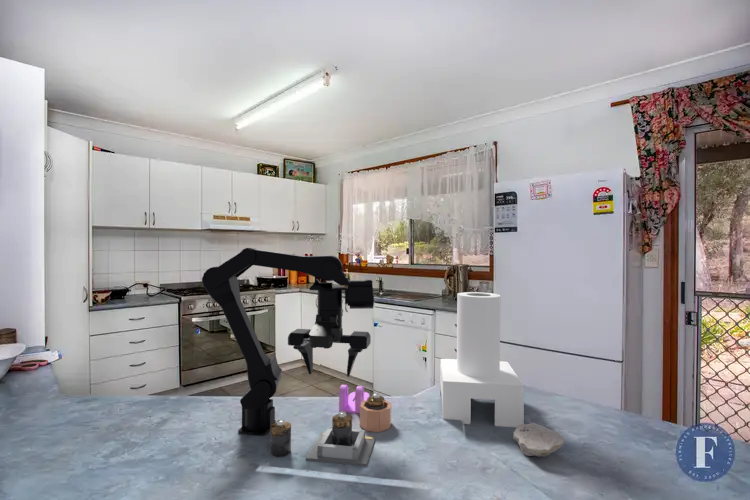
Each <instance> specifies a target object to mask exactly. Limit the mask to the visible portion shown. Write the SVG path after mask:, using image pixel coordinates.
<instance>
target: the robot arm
mask: <svg viewBox="0 0 750 500" xmlns="http://www.w3.org/2000/svg"><path fill="white" fill-rule="evenodd" d="M253 266H258V267H263V268H271V269H279V270H285V271H292V272H299V273H304V274H306V275H309V276H311V277H314V278H316V279H315V280H314V282H313V284H311V285H310V286H309V288H308V289H309V291H317V314H316V315H315V321H314V325H313V326H312V327H311V329H310V328H308V329H307V328H296V329H295V330H293V331H291V332H290V333H289V334H288V336H287V345H288V346H290V347H291V346H293V347H292V348H293V349H294V350H297V351H298V352H299V353H300V355H301V357H302V358H303V361H304V364H305V366H306V370H307V372H308V374H309V375H313V374H312V373H313V367H314V354H313V353H314V352H313V351H314V350H313V349H316V348H321V349H330V348H332V347H333V344H348V345H349V349H348V350H347V353H348V358H347V365H346V366H347V367H346V377H347V378H349V377H350V375H351V373H352V370H353V368H354V367H353V366H354V364H355V361H356V359H357V356H358V355H359V353H361V352H363V350H367V349H368V347H369V346H370V345H371V340H372V339H371V334H370V333H369V332H368V331H358V330H357V331H355V330H354V331H353V332H352V333H351V334H343V330H344V329H343V314H344V313H343V310H342V309H343V291H344V305H347V306H349V309H350V310H353V309H354V310H355V309H356V310H357V309H358V310H359V309H361V310H362V309H366V310H367V309H368V310H369V309H374V306H375V305H374V302H375V294H374V287H373V280H372V279H364V280H350V279H349V276H348V275H347V274H346V273H345V272H344V271H343V264H342V261H341V260H340V258H338V257H337V256H335V255H333V254H332V255H330V254H329V255H305V256H304V255H299V254H293V253H292V254H290V253H285V252H276V251H272V250H271V251H270V250H264V249H263V250H262V249H257V248H255V247H246V248H243V249H242V250H241V251H240V252H239V253H238V254H236V255H234V256H232V257H231V258H230V259H228V260H227V261H225V262H223V263H222V264H220V265H218V266H213V267H209V268H208V269H206V270H205V272H204V273H203V276H202V278H201V283H202V286H203V287H204V289H205V290H206V292H207V294H208V295H209V296H210V298H211V299H212V300H214V301H215V303H216V304H217V305H218V306H219V307H220V308H221V310H222V312H223V315H224V317H225V318H226V321H227V323H228V325H229V329H230V330H231V332H232V335H233V336H234V337H233V338H234V339H235V341H236V343H237V345H238V348H239V350H240V352H241V354H242V357H243V359H244V361H245V364H246V372H247V381H248V384H249V387H248V388H247V389H246V391H245V393H244V394H243V395H242V396H241V399H240V400H239V403H240V405H241V427H239V428H238V430H237V433H238V434H248V435H259V436H265V435H266V434H267V433H268V432H269V431H271V425H272V424H274V423H276V422H277V420H276V408H275V406H274V399H271V398H273V396H274V395H276V392H277V389H278V388H279V386H280V383H281V380H282V372H283V369H282V368H281V367H280V366H279V364H278V360H277V357H276V356H273V357H271V358H270V357H269V356H268V355H267V354H266V353H265V352H264V349H263V347H262V345H261V342H260V341H259V338H258V335H257V333H256V331H255V329H254V326H253V325H252V322H251V321H250V318H249V316H248V314H247V311H246V309H245V307H244V304H243V302H242V300H241V295H240V294H241V291H240V284H239V280H238V278H239V277H240V276H241V275H243V274H244V273H245V272H247V271H248V270H250V268H252V267H253ZM319 279H321V280H323V281H326V282H321V281H320V280H319ZM332 281H334V282H335V283H336V284H337V286H334V285H333V282H332ZM338 285H339V286H338Z"/></svg>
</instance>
